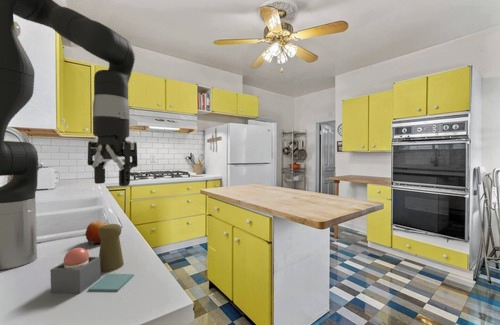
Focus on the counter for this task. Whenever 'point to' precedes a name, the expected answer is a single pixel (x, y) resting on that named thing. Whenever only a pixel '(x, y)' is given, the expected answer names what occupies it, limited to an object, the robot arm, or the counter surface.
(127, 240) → the counter surface
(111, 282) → the tile
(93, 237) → the fruit
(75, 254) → the salmon pink ball
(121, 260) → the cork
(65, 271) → the housing
